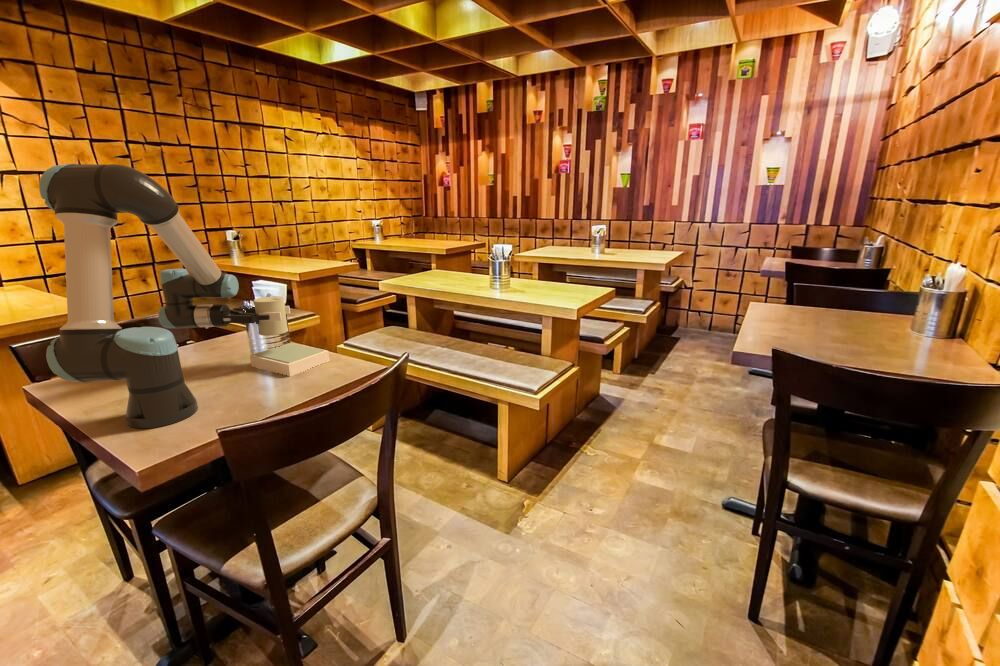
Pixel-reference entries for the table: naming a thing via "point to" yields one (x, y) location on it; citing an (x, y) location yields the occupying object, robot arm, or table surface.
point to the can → (271, 306)
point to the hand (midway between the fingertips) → (285, 312)
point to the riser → (289, 359)
